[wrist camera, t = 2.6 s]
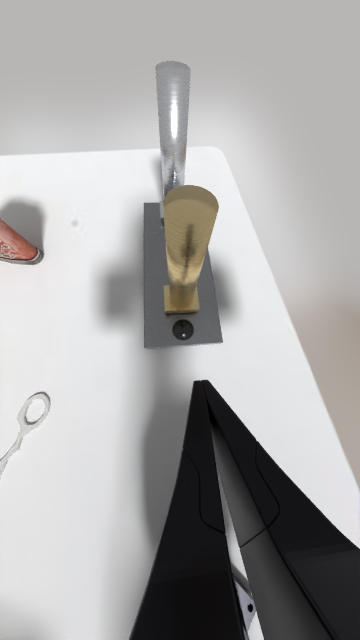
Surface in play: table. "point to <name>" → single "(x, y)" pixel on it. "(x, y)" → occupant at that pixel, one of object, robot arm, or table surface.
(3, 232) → the lighter
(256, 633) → the table surface
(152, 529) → the table surface
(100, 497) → the table surface
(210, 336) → the bolt plate
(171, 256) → the gold tapered block
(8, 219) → the table surface
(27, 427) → the scissors
